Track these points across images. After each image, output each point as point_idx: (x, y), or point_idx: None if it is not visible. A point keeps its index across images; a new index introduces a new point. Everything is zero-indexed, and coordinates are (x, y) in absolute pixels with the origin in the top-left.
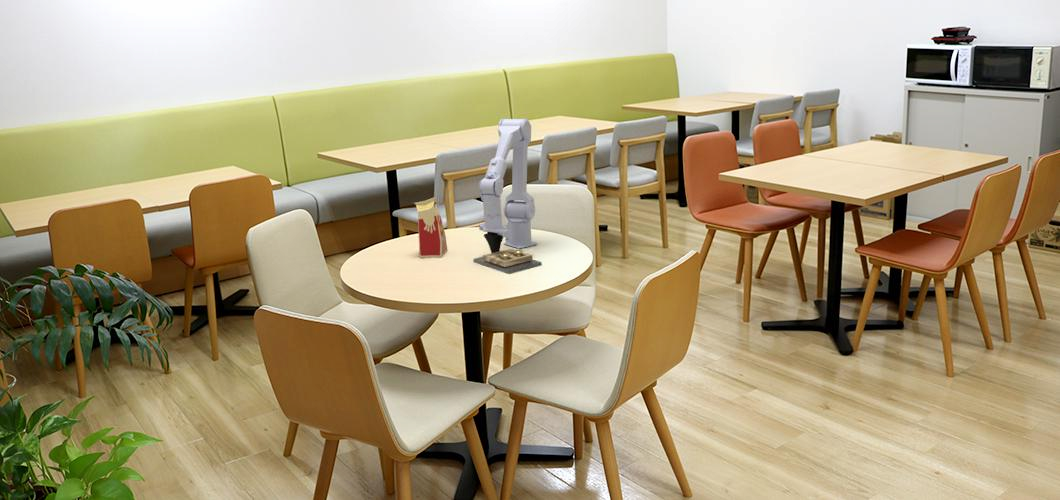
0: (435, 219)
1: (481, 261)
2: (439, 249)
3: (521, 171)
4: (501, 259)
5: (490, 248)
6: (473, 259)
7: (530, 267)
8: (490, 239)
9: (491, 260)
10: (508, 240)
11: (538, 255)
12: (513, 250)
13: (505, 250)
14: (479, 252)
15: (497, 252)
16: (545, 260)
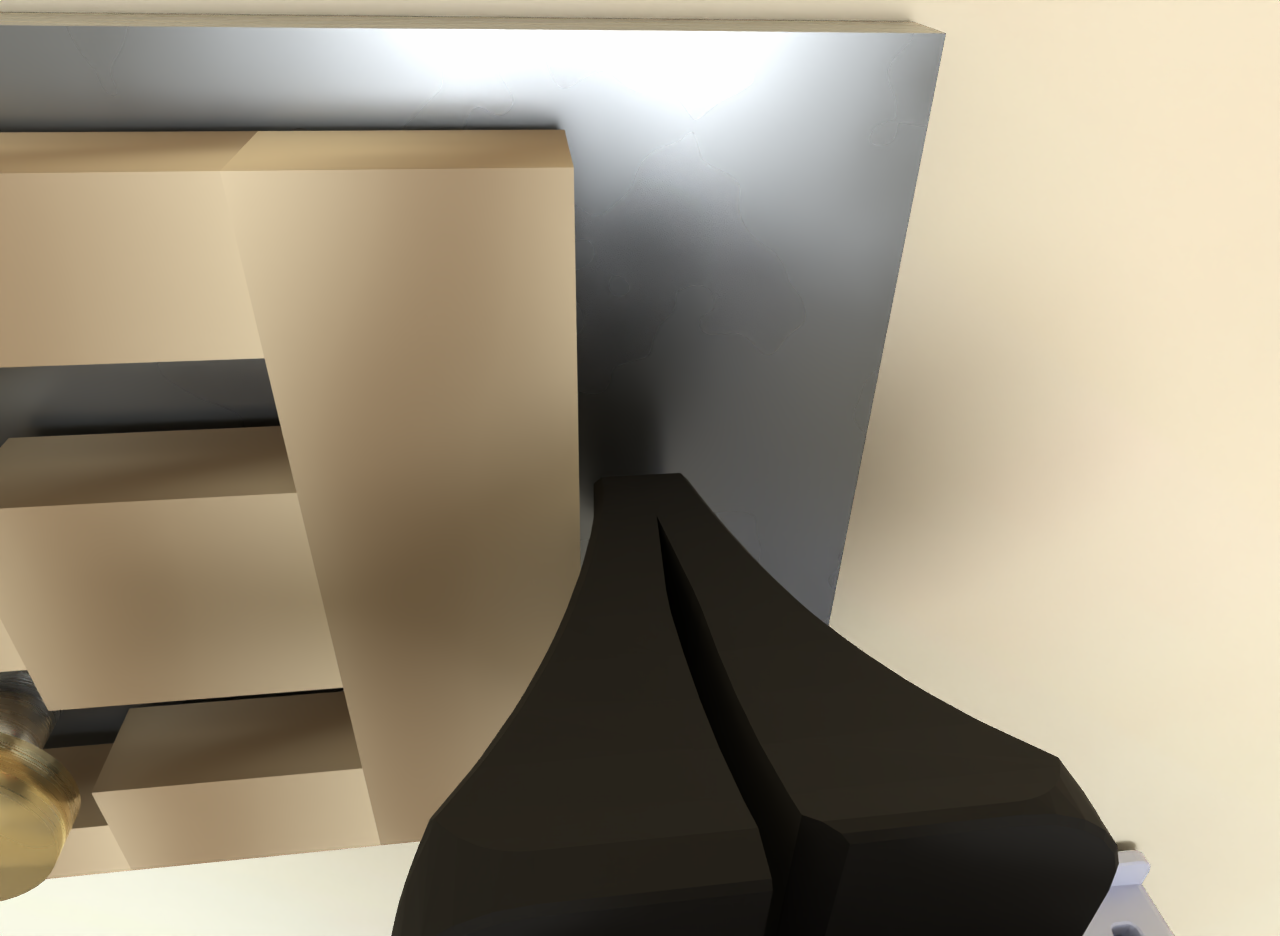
0: None
1: (559, 44)
2: None
3: None
4: (205, 441)
5: (711, 544)
6: (937, 32)
7: None
8: (598, 762)
9: (113, 148)
10: (1095, 930)
11: (347, 923)
12: (414, 813)
13: None
14: (1247, 493)
15: (525, 567)
16: (18, 905)
